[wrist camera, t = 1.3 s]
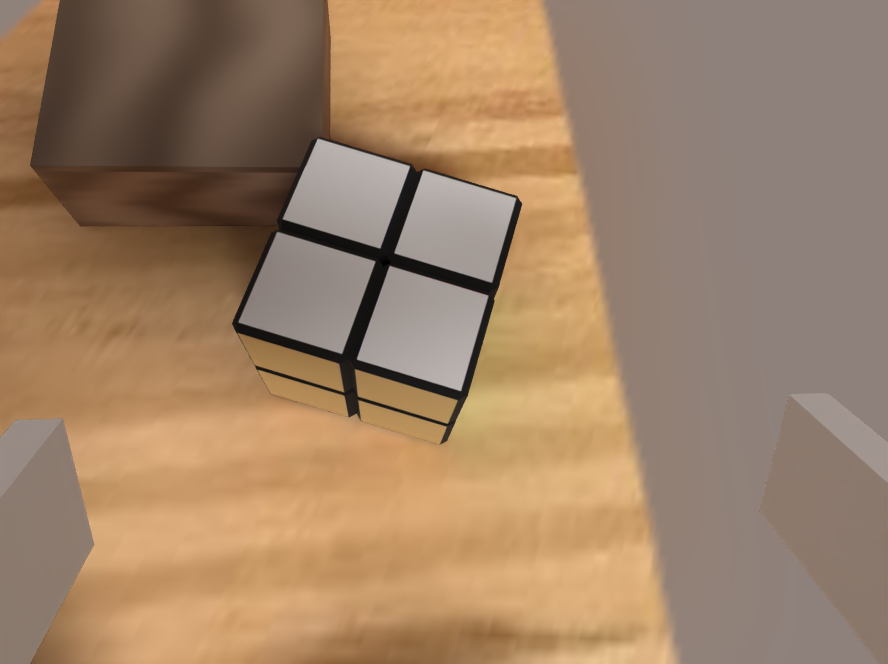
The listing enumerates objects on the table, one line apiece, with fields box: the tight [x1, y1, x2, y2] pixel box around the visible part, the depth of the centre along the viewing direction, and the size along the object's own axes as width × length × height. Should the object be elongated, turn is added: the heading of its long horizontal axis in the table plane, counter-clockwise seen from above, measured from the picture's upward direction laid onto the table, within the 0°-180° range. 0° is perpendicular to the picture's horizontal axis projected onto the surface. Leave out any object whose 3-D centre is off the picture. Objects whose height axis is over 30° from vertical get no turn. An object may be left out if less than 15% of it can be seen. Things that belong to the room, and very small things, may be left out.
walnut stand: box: [30, 0, 331, 226], centre depth 39 cm, size 14×14×6 cm
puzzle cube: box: [232, 137, 522, 445], centre depth 34 cm, size 10×10×10 cm
